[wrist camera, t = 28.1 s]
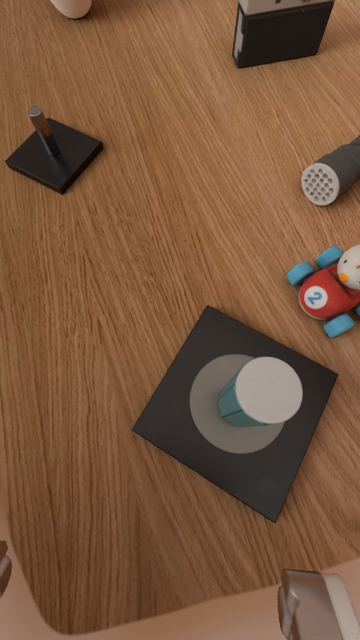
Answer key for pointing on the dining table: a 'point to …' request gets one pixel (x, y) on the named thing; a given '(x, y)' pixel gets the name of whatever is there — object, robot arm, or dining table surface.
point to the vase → (73, 7)
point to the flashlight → (332, 174)
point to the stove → (220, 435)
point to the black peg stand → (54, 153)
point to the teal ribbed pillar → (261, 394)
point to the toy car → (330, 288)
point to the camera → (278, 29)
